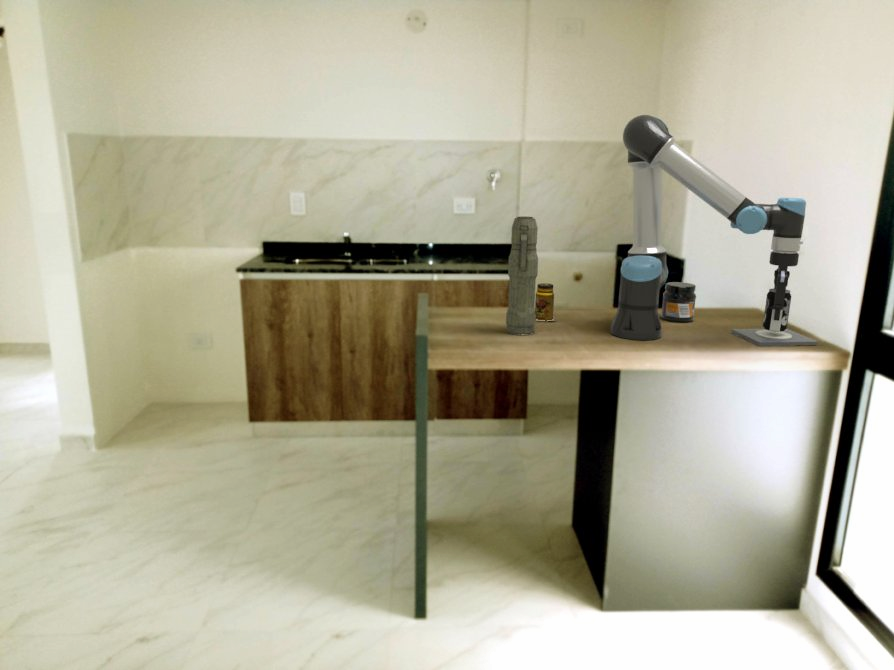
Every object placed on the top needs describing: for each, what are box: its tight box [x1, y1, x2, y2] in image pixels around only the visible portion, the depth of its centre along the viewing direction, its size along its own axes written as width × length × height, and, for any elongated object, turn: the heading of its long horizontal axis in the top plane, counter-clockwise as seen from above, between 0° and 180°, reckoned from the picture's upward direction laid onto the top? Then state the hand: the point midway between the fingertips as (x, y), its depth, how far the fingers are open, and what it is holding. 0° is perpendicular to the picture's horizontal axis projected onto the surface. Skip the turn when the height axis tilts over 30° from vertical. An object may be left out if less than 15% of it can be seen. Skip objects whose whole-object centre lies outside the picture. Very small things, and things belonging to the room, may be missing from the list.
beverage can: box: [762, 288, 792, 332], centre depth 203 cm, size 7×7×12 cm
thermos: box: [505, 216, 539, 336], centre depth 205 cm, size 9×12×35 cm
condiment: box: [534, 282, 555, 321], centre depth 225 cm, size 7×8×12 cm
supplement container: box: [660, 281, 697, 323], centre depth 227 cm, size 10×10×12 cm
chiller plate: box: [730, 328, 819, 347], centre depth 205 cm, size 18×16×2 cm
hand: (774, 327), depth 204 cm, fingers closed on beverage can, 6 cm apart
